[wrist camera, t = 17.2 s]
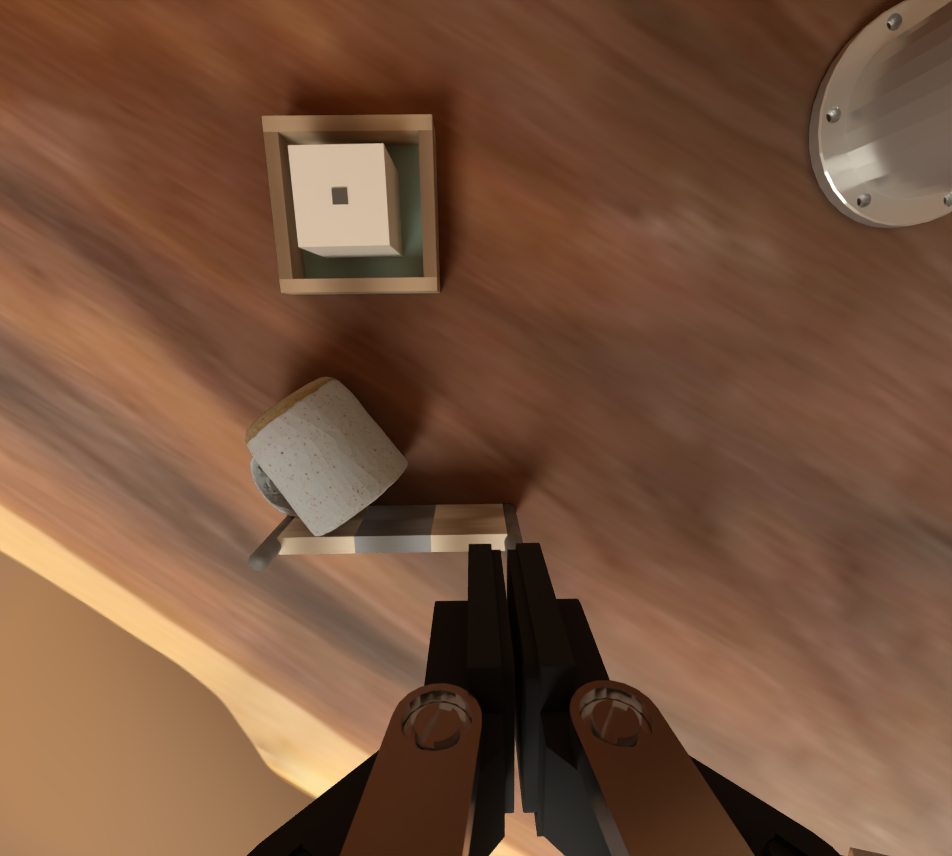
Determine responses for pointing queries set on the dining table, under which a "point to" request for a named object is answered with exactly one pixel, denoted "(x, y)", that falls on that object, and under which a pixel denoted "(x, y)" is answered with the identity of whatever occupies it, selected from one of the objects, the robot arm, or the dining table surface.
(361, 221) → the die
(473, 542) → the scoring rail
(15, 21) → the dining table surface
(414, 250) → the felt tray
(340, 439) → the ceramic mug
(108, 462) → the dining table surface
